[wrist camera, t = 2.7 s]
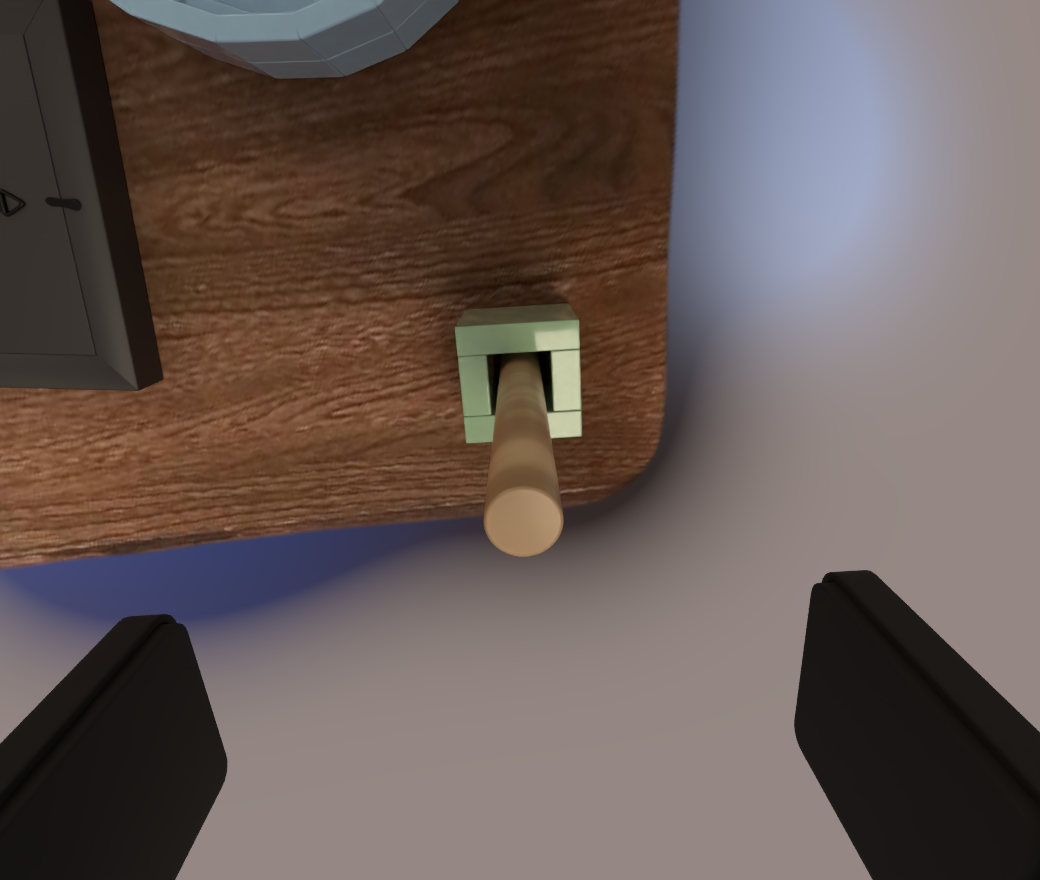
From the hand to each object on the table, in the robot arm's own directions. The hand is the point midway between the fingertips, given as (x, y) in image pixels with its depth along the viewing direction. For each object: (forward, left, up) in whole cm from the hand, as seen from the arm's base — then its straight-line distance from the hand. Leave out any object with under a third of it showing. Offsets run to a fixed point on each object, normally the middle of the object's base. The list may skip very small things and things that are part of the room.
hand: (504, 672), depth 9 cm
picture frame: (+10, -27, -22) cm, 36 cm away
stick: (0, 0, -22) cm, 22 cm away
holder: (0, 0, -22) cm, 22 cm away
